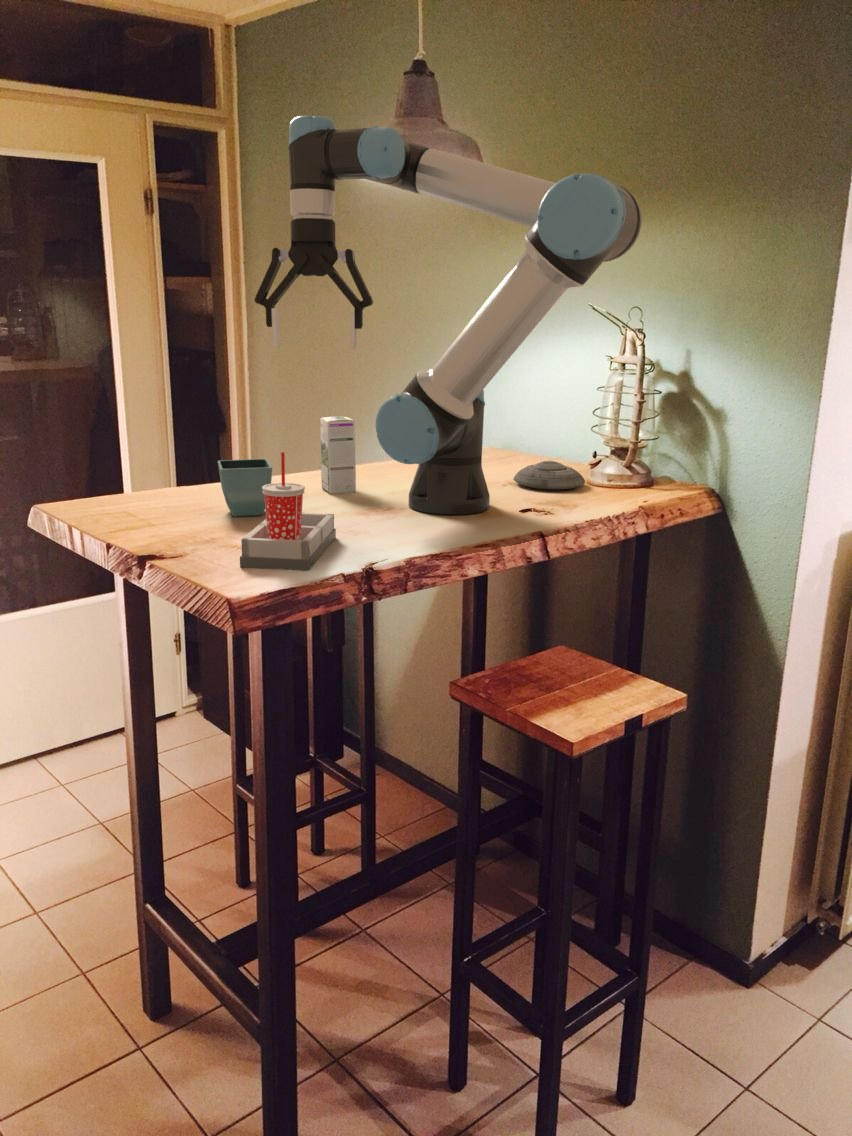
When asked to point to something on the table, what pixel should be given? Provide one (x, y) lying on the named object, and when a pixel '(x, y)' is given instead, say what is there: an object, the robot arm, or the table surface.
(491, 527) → the table surface
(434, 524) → the table surface
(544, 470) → the flying saucer
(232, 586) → the table surface
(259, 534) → the divided tray
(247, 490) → the flower pot
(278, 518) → the beverage cup
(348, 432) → the syrup box
